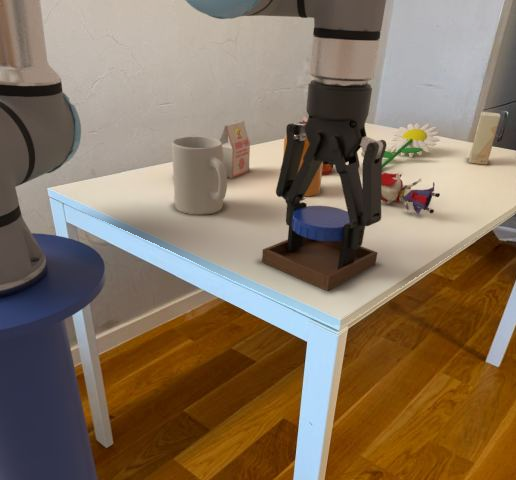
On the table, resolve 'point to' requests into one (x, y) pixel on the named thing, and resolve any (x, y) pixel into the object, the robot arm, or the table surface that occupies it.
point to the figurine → (406, 193)
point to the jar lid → (320, 222)
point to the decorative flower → (411, 141)
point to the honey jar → (316, 181)
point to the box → (484, 137)
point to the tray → (318, 262)
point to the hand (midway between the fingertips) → (319, 257)
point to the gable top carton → (235, 149)
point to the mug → (198, 175)
